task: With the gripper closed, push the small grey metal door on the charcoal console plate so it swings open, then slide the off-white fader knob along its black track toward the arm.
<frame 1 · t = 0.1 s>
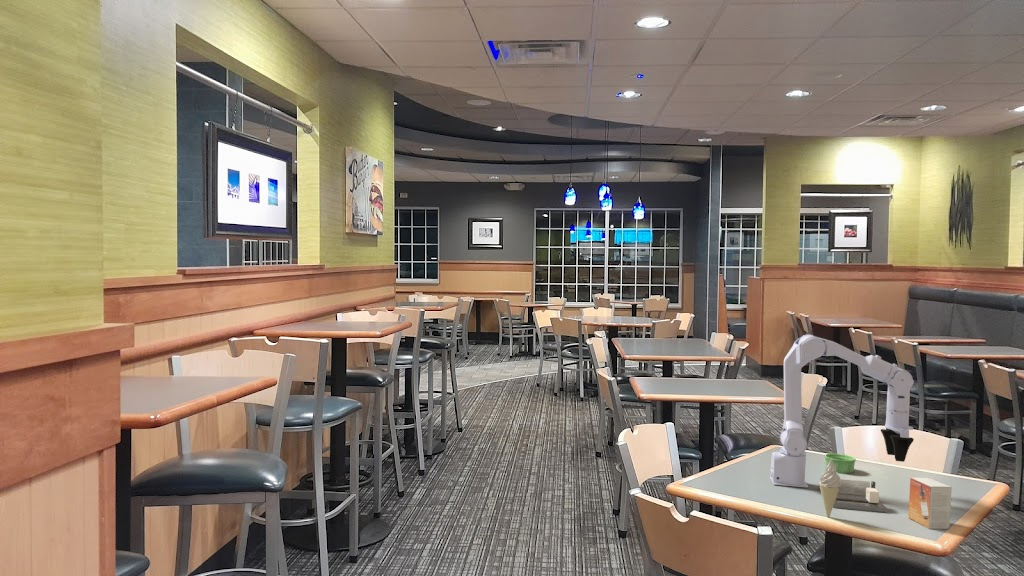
hand: (895, 457, 205), 10 cm above the table, tool pointing down, fingers open, 7 cm apart
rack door: (849, 486, 198), point 3 cm above the table, hinge at 0.0°
ice cream cone: (828, 517, 181), on the table
fader knob: (872, 495, 191), point 3 cm above the table, slide at 0.0 cm
console plate: (850, 499, 196), on the table
ramekin: (839, 471, 229), on the table
small box: (928, 524, 179), on the table
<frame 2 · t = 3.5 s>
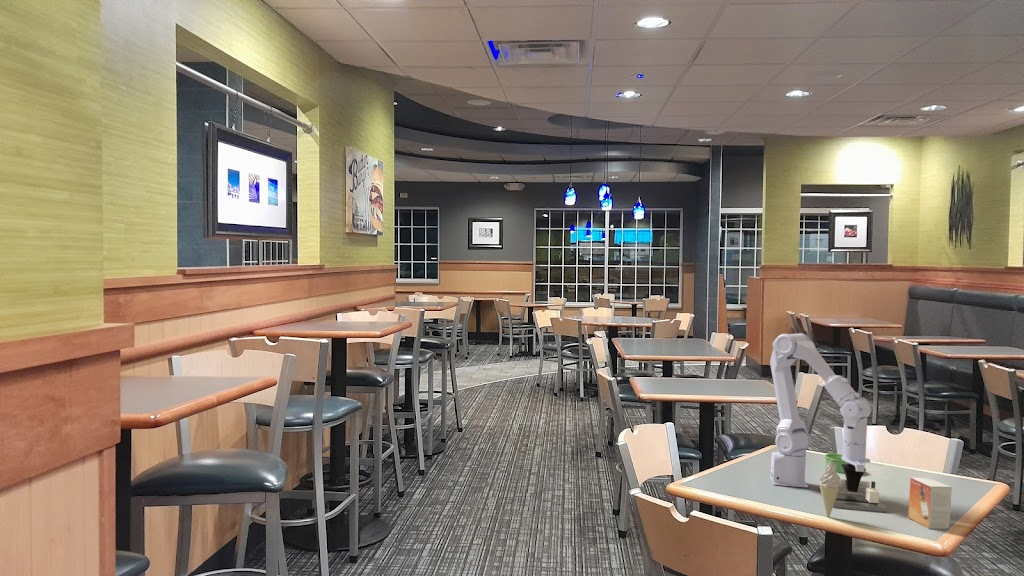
hand: (852, 491, 197), 2 cm above the table, tool pointing down, fingers closed, pressing on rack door
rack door: (849, 486, 198), point 3 cm above the table, hinge at 0.0°, touching gripper
everything else where it was.
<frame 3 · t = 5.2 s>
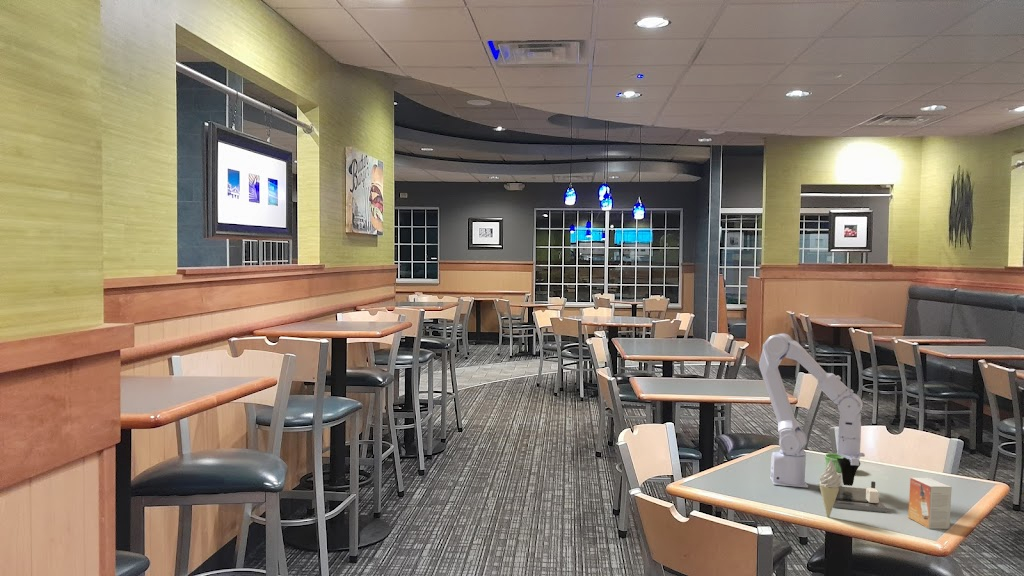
hand: (847, 485, 203), 2 cm above the table, tool pointing down, fingers closed, pressing on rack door
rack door: (837, 481, 203), point 3 cm above the table, hinge at 60.5°, touching gripper
everything else where it was.
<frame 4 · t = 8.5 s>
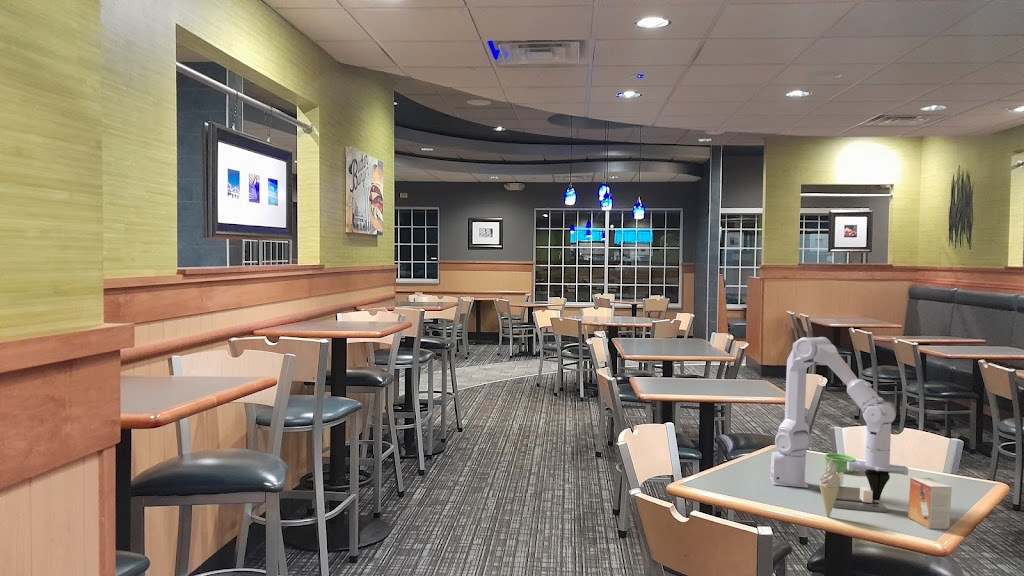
hand: (875, 499, 191), 2 cm above the table, tool pointing down, fingers closed
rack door: (836, 481, 203), point 3 cm above the table, hinge at 62.8°
fader knob: (866, 494, 191), point 3 cm above the table, slide at 1.5 cm, touching gripper
everything else where it was.
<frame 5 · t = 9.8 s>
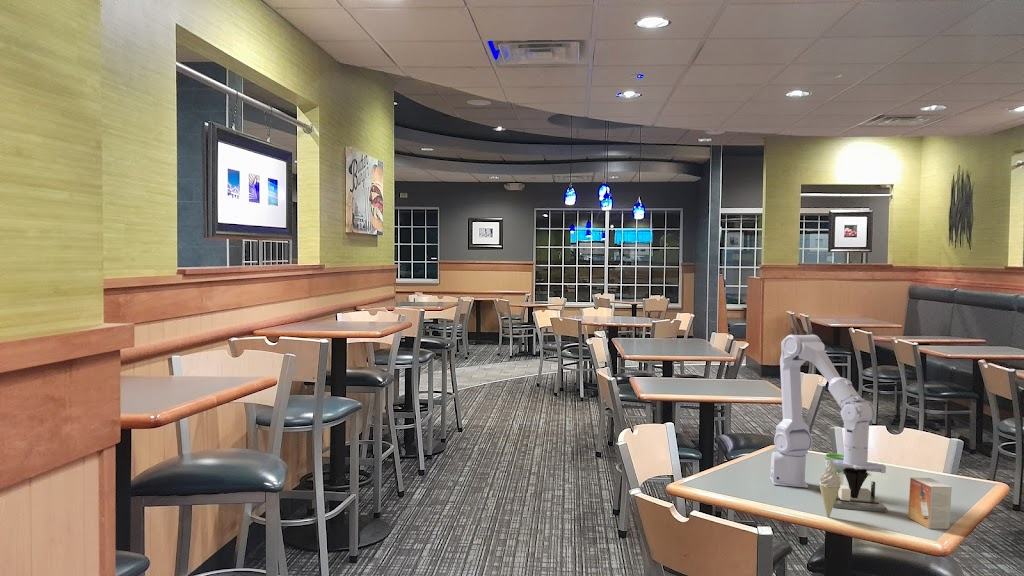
hand: (854, 497, 192), 2 cm above the table, tool pointing down, fingers closed
fader knob: (844, 492, 192), point 3 cm above the table, slide at 6.9 cm, touching gripper
everything else where it was.
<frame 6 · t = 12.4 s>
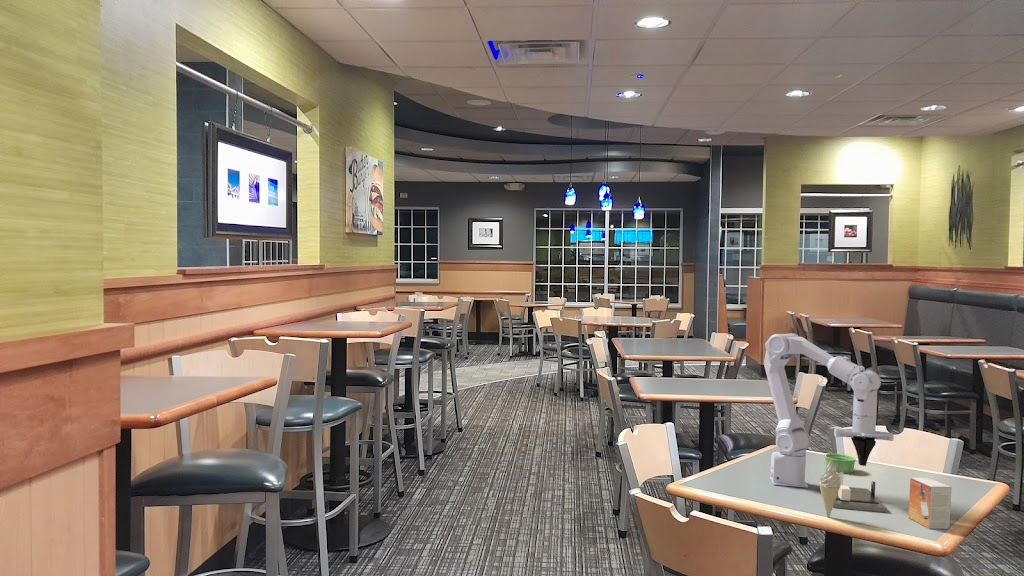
hand: (862, 464, 196), 10 cm above the table, tool pointing down, fingers closed
fader knob: (844, 492, 192), point 3 cm above the table, slide at 6.9 cm
everything else where it was.
at the end: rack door at +63° (first picture: +0°); fader knob slide at 6.9 cm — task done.
